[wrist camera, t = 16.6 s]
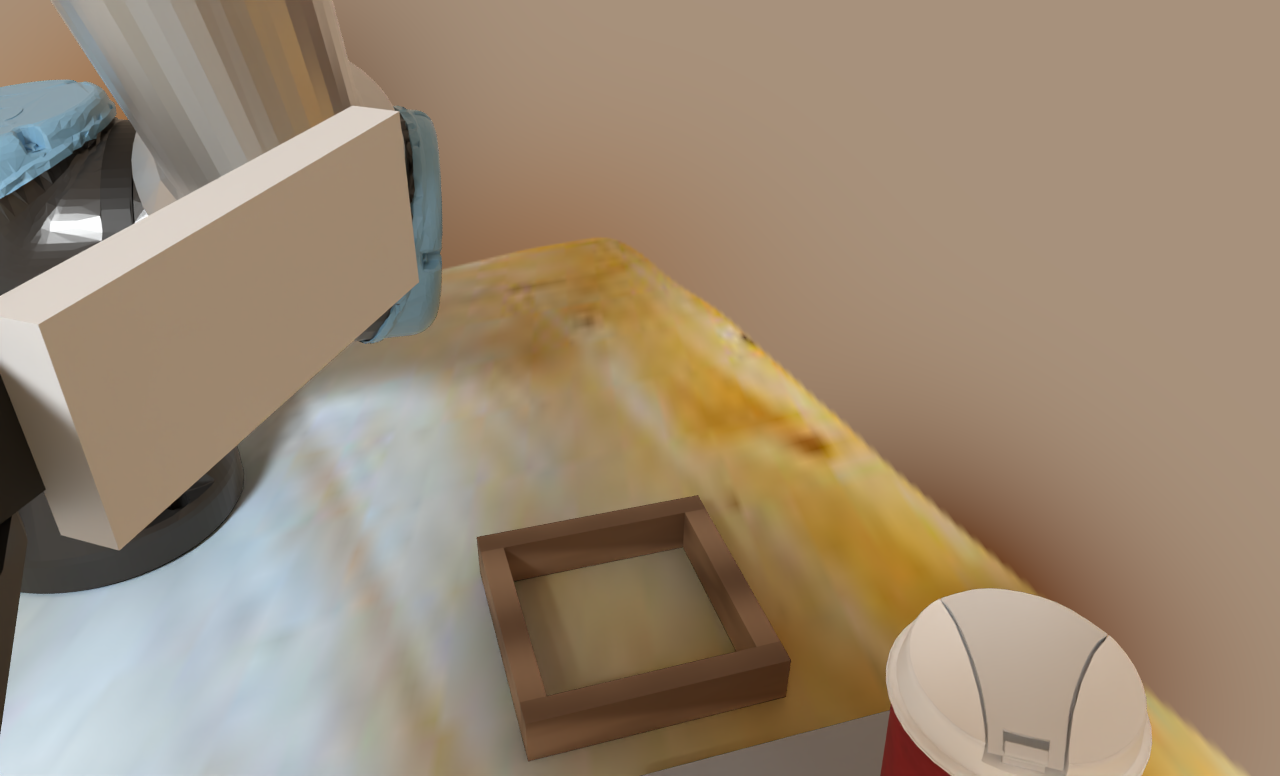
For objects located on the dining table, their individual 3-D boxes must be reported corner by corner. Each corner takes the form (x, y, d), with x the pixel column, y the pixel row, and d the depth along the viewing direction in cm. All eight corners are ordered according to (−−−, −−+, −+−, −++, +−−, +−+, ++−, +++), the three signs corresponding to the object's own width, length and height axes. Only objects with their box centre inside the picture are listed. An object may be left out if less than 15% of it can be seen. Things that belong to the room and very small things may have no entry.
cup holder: (480, 572, 54) (476, 537, 52) (695, 529, 57) (697, 495, 56) (528, 761, 44) (525, 724, 42) (785, 696, 47) (790, 660, 46)
